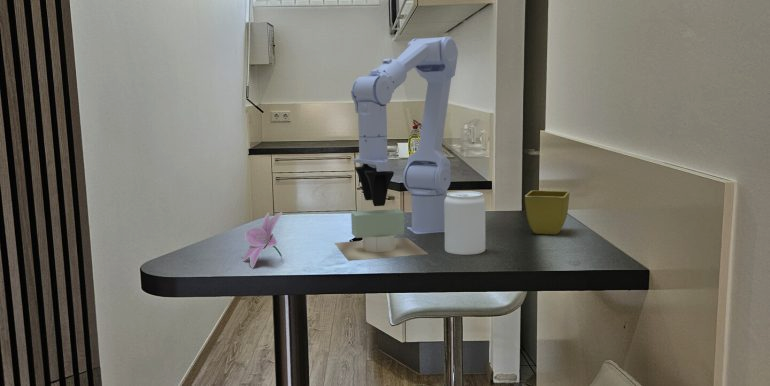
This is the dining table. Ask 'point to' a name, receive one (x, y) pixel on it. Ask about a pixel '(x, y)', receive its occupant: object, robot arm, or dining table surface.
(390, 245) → the white octagonal prism
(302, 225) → the dining table surface
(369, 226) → the green rectangular block
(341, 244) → the mat
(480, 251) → the beverage can
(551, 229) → the flower pot
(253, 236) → the lily
